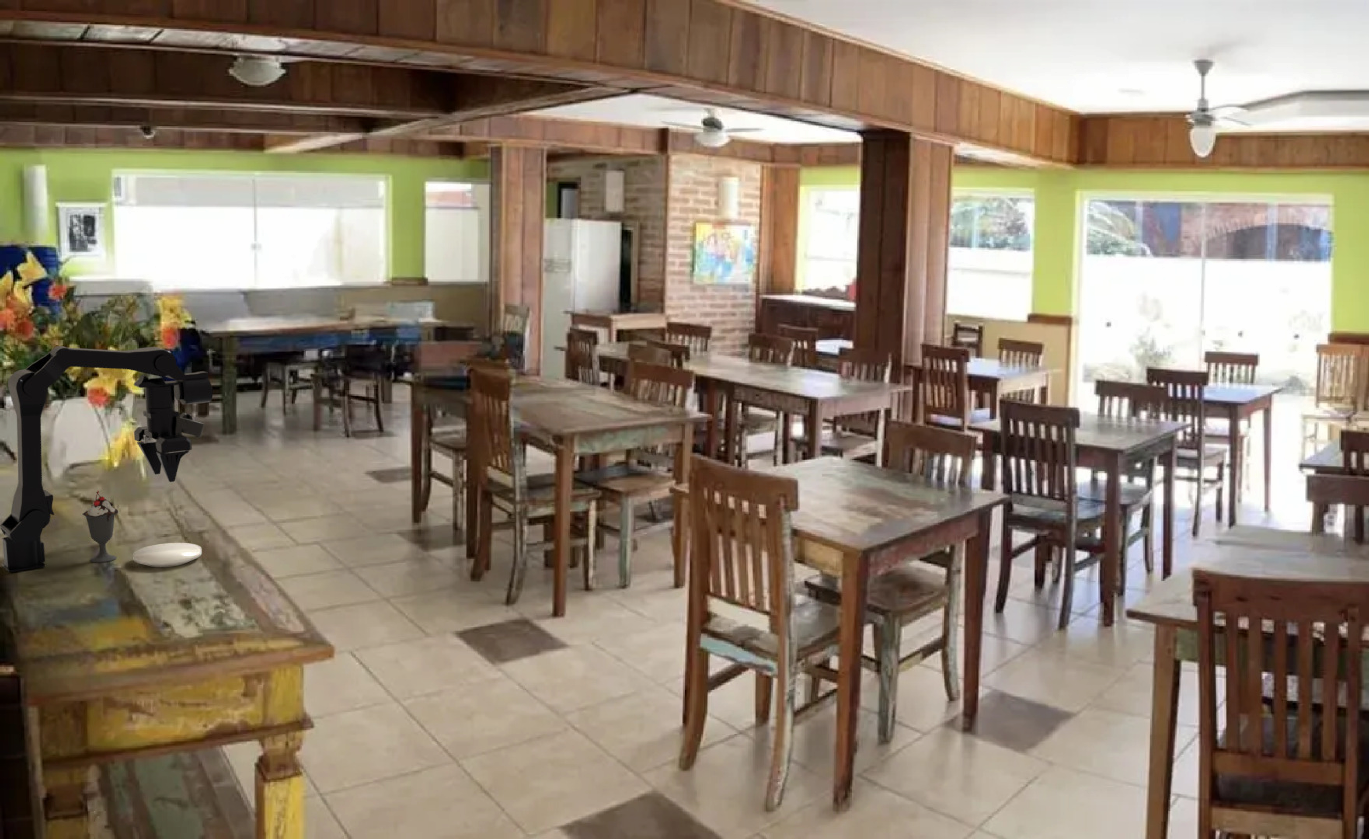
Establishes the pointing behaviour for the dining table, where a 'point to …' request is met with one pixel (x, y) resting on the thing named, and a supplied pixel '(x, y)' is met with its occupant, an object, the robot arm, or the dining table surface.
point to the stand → (167, 554)
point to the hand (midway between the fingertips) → (164, 477)
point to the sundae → (101, 526)
